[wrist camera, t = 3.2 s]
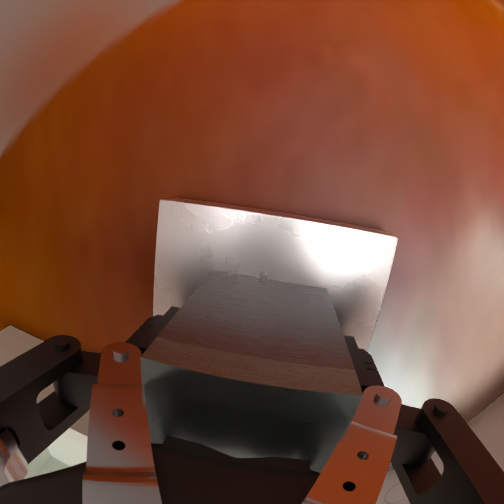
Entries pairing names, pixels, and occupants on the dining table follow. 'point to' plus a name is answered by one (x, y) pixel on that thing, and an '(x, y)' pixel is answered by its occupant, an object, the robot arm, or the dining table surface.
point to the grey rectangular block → (252, 371)
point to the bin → (72, 440)
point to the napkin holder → (486, 429)
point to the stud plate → (273, 256)
